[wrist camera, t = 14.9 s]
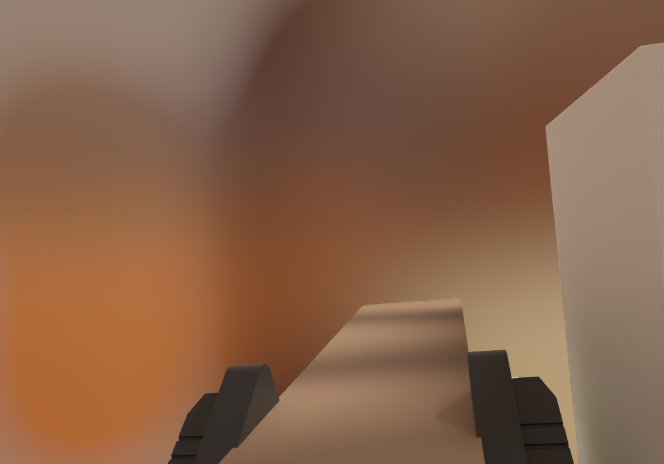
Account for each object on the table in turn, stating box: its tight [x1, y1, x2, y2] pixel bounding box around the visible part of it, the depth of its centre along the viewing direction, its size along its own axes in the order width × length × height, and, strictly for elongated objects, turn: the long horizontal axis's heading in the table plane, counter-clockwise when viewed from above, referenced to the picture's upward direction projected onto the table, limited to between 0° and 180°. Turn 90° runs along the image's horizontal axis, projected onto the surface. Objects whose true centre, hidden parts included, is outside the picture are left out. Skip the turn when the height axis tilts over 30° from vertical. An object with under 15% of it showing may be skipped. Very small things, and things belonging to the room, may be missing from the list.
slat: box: [219, 298, 485, 464], centre depth 16 cm, size 20×4×2 cm, turn 169°
